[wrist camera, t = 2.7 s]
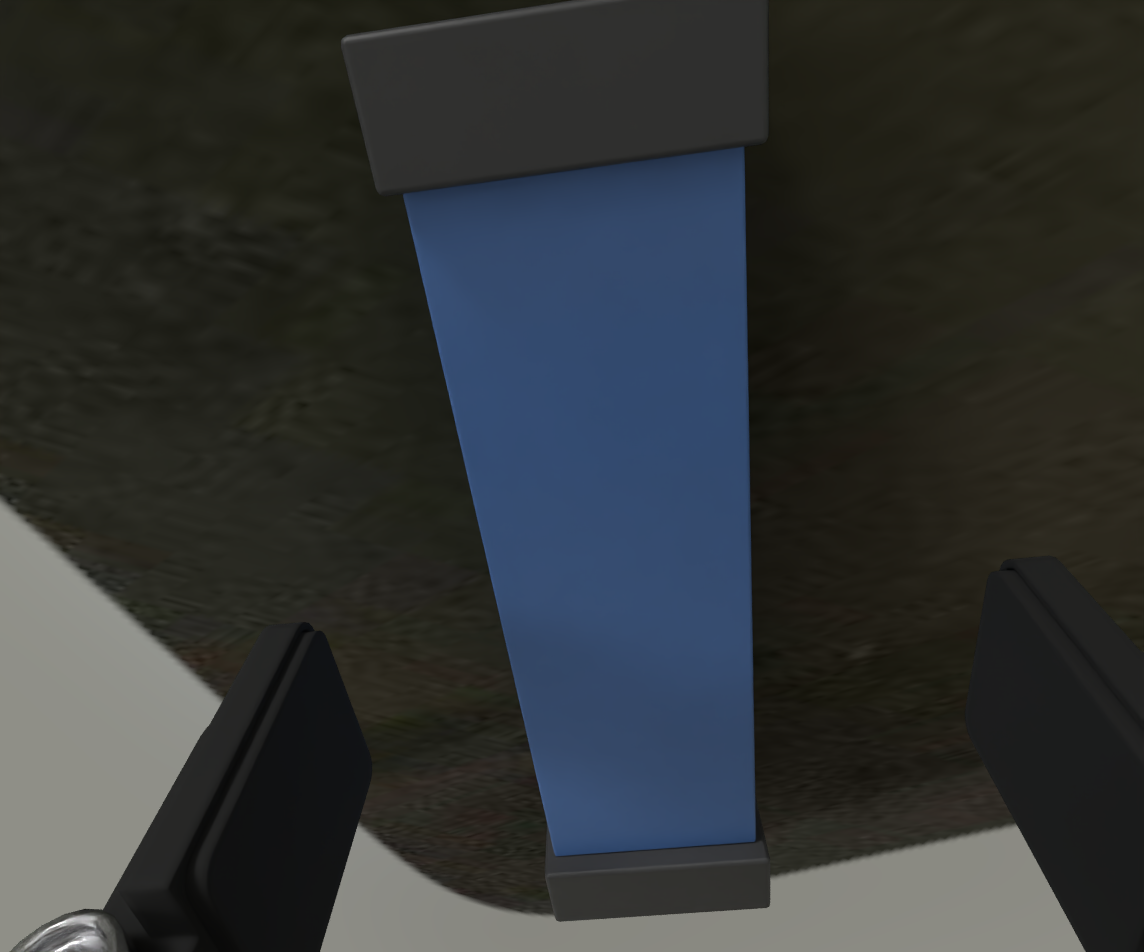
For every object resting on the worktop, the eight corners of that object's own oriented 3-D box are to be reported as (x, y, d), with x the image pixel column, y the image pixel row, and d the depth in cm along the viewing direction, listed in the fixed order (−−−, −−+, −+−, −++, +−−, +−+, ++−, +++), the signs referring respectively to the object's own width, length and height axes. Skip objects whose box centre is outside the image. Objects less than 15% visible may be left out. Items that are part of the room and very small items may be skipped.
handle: (415, 34, 12) (336, 35, 8) (706, -11, 11) (770, -31, 8) (560, 750, 20) (555, 924, 16) (733, 736, 19) (771, 909, 16)
